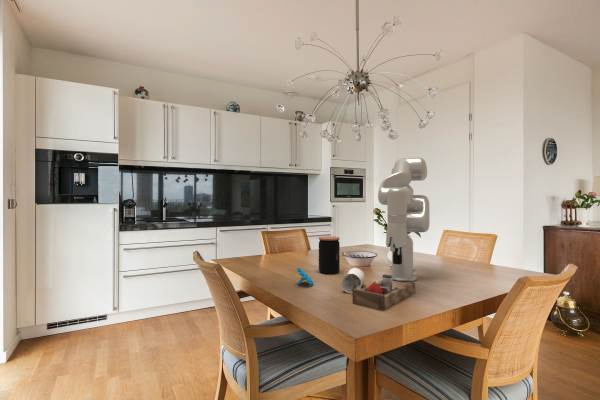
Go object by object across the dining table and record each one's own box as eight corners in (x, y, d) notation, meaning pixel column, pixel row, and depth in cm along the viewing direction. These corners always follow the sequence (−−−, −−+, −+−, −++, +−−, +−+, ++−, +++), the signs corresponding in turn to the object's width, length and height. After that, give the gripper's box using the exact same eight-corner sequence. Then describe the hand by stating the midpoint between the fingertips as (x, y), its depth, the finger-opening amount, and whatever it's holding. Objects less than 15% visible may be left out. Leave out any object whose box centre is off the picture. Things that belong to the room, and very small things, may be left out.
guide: (388, 287, 139) (388, 275, 139) (415, 292, 131) (415, 280, 131) (352, 303, 118) (352, 289, 118) (382, 310, 110) (382, 295, 110)
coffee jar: (340, 274, 163) (340, 238, 163) (319, 274, 163) (319, 238, 163) (338, 270, 173) (338, 236, 173) (318, 270, 173) (318, 236, 173)
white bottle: (366, 283, 147) (366, 265, 147) (361, 294, 129) (361, 274, 129) (349, 281, 149) (349, 264, 149) (341, 292, 131) (341, 273, 131)
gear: (313, 284, 138) (297, 267, 140) (303, 294, 138) (287, 276, 140) (316, 281, 148) (301, 265, 151) (307, 291, 149) (292, 274, 151)
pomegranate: (364, 301, 120) (364, 279, 120) (379, 300, 121) (379, 278, 121) (369, 306, 115) (369, 283, 115) (385, 305, 115) (385, 282, 115)
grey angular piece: (386, 291, 133) (386, 271, 133) (403, 294, 128) (403, 273, 128) (369, 298, 123) (369, 277, 123) (387, 302, 118) (387, 280, 118)
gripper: (396, 216, 140) (396, 258, 141) (379, 220, 129) (380, 266, 130) (413, 217, 135) (413, 261, 136) (397, 221, 124) (398, 269, 125)
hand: (397, 263), depth 133 cm, fingers closed
